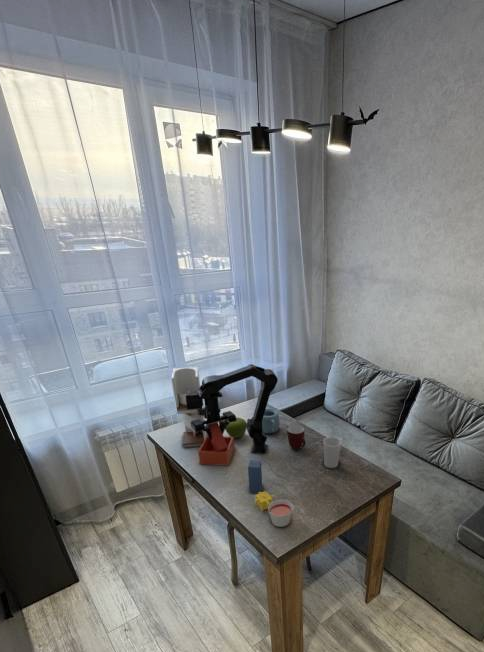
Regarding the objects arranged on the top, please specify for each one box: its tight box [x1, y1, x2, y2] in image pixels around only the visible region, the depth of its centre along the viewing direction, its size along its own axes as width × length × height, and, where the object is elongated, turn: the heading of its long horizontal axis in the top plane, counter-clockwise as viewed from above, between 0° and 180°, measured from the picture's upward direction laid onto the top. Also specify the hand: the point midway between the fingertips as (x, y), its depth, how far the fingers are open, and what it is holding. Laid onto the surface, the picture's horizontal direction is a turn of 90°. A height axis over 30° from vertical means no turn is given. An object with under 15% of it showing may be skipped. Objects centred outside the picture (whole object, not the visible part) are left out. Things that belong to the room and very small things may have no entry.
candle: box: [267, 499, 294, 528], centre depth 146 cm, size 9×9×6 cm
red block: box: [208, 422, 228, 452], centre depth 176 cm, size 4×4×12 cm
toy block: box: [254, 490, 275, 511], centre depth 152 cm, size 8×8×6 cm
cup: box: [322, 436, 342, 469], centre depth 177 cm, size 8×8×12 cm
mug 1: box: [262, 408, 281, 435], centre depth 200 cm, size 15×11×10 cm
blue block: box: [247, 460, 263, 494], centre depth 159 cm, size 4×4×12 cm
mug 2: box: [286, 424, 307, 451], centre depth 188 cm, size 10×8×10 cm
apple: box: [224, 416, 247, 439], centre depth 195 cm, size 11×10×10 cm
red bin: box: [197, 435, 236, 466], centre depth 180 cm, size 14×13×6 cm
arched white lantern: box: [171, 366, 208, 448], centre depth 184 cm, size 11×11×35 cm
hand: (215, 437), depth 177 cm, fingers open, 5 cm apart
